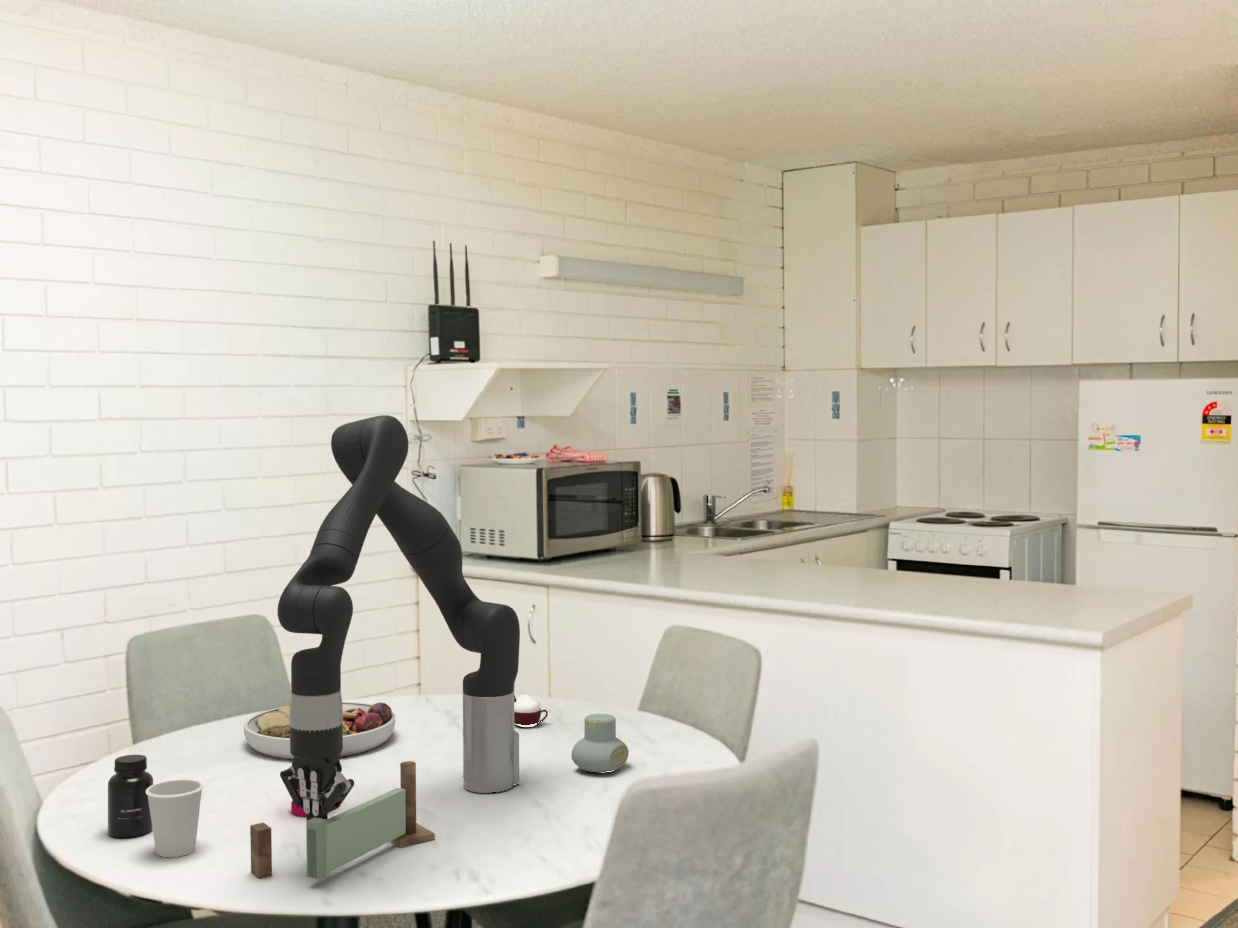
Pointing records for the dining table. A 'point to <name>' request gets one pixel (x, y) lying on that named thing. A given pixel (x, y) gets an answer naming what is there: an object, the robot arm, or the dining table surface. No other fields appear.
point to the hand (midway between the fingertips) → (317, 837)
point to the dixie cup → (175, 815)
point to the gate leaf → (354, 832)
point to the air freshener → (600, 745)
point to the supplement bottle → (129, 798)
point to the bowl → (360, 729)
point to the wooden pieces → (413, 835)
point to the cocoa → (527, 710)
